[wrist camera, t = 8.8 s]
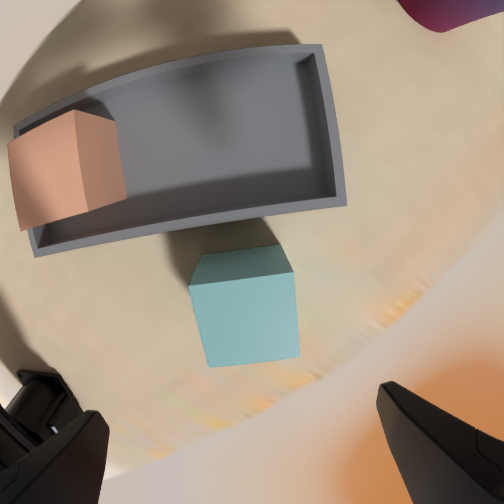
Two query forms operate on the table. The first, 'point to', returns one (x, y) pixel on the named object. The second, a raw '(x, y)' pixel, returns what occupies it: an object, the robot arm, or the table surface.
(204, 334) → the teal block
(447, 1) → the cup
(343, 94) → the table surface
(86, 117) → the terracotta block
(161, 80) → the tray
